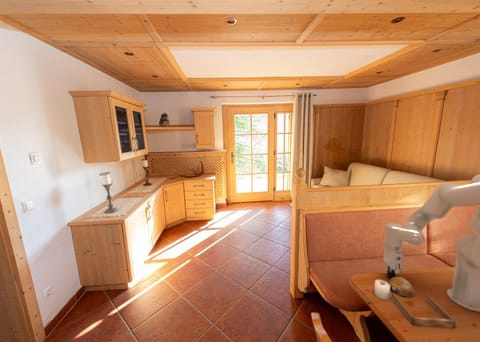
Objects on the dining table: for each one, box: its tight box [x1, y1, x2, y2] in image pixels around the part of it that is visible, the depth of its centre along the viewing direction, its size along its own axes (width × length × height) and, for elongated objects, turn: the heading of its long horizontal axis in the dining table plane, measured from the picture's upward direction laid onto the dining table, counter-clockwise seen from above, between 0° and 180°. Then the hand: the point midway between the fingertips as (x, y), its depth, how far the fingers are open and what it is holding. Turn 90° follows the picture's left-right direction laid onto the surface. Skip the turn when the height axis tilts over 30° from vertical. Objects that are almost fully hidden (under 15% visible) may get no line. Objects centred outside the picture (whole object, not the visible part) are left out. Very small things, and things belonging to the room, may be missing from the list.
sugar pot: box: [374, 279, 391, 301], centre depth 96 cm, size 6×6×8 cm
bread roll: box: [387, 276, 414, 298], centre depth 99 cm, size 10×10×8 cm
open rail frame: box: [390, 292, 457, 329], centre depth 86 cm, size 16×14×3 cm
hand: (391, 277), depth 107 cm, fingers closed
